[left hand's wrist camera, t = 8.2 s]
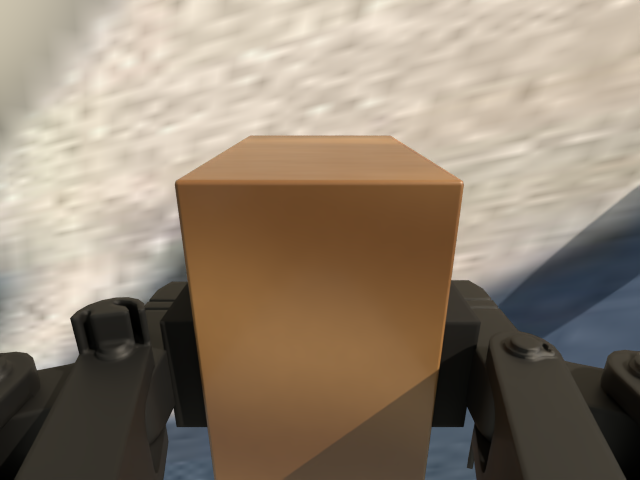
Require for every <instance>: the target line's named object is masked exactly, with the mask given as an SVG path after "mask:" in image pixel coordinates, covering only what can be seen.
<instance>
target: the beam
mask: <svg viewBox="0 0 640 480" xmlns="http://www.w3.org/2000/svg"><path fill="white" fill-rule="evenodd" d="M463 187H464V184H463V181H462V180H460V179H459V178H457V177H455V176H454V175H452V174H451V173H449V172H447V171H446V170H444V169H443V168H441V167H439V166H438V165H436V164H435V163H433V162H431V161H430V160H428V159H427V158H425V157H424V156H422V155H420V154H419V153H417V152H416V151H414V150H412V149H411V148H409V147H408V146H406V145H404V144H403V143H401V142H400V141H398V140H396V139H395V138H393V137H392V136H249V137H247V138H246V139H244V140H242V141H241V142H239V143H237V144H236V145H234V146H232V147H231V148H229V149H227V150H226V151H224V152H223V153H221V154H219V155H218V156H216V157H214V158H213V159H211V160H209V161H208V162H206V163H205V164H203V165H201V166H200V167H198V168H196V169H195V170H193V171H191V172H190V173H188V174H186V175H185V176H183V177H182V178H180V179H178V180H177V181H176V182H175V189H176V197H177V204H178V212H179V219H180V227H181V234H182V241H183V249H184V256H185V264H186V271H187V279H188V286H189V293H190V301H191V308H192V316H193V323H194V331H195V338H196V345H197V353H198V360H199V368H200V375H201V383H202V390H203V397H204V405H205V412H206V420H207V427H208V435H209V442H210V449H211V457H212V464H213V472H214V479H215V480H425V472H426V465H427V457H428V450H429V442H430V434H431V427H432V419H433V412H434V404H435V397H436V389H437V382H438V374H439V367H440V359H441V352H442V344H443V337H444V329H445V322H446V314H447V307H448V299H449V292H450V284H451V277H452V269H453V262H454V254H455V247H456V239H457V232H458V224H459V217H460V209H461V202H462V194H463Z"/></svg>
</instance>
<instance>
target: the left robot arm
mask: <svg viewBox="0 0 640 480" xmlns="http://www.w3.org/2000/svg"><path fill="white" fill-rule="evenodd" d="M70 319H71V323H72V327H73V331H74V335H75V339H76V343H77V347H78V351H79V356H78V358H77V360H76V362H75V363H72V364H68V365H63V366H58V367H53V368H48V369H42V370H37V369H36V366H35V363H34V360H33V357H31V356H30V355H29V354H27V353H21V352H10V353H0V480H163V478H164V471H165V463H166V456H167V448H168V435H167V429H166V423H167V421H168V419H169V416H170V414H171V412H172V410H173V408H174V413H175V419H176V425H177V427H207V420H206V412H205V405H204V397H203V390H202V383H201V375H200V368H199V360H198V353H197V345H196V338H195V331H194V323H193V316H192V308H191V301H190V293H189V286H188V282H171V283H169V284H167V285H165V286H164V287H162V288H160V289H159V290H157V292H156V293H155V294H154V295H153V296H152V298H151V299H150V301H149V302H147V304H146V305H145V306H144V303H143V302H141V301H140V300H139V299H134V298H129V297H122V298H111V299H106V300H101V301H99V302H96V303H93V304H90V305H88V306H86V307H84V308H82V309H80V310H79V311H77V312H76V313H75V314H74V315H73V316H72V317H71V318H70ZM467 407H468V409H469V412H470V414H471V416H472V418H473V420H474V422H475V424H474V429H473V435H472V441H471V446H470V452H469V457H468V464H467V468H470V469H472V468H473V463H474V462H475V470H476V477H477V480H640V351H630V350H621V351H614V352H613V353H611V354H610V355H609V356H608V358H607V361H606V364H605V367H604V369H602V368H597V367H592V366H586V365H581V364H576V363H571V362H567V361H564V359H563V358H562V356H561V354H560V353H559V351H558V350H557V349H556V348H555V347H554V346H553V345H552V344H550V343H549V342H547V341H545V340H544V339H542V338H539V337H537V336H535V335H532V334H529V333H524V332H520V331H518V330H517V329H516V327H515V326H514V325H513V324H512V323H511V322H510V320H509V319H508V318H507V317H506V316H505V314H504V313H503V312H502V311H501V310H500V309H498V306H497V305H496V304H495V303H494V301H493V300H491V298H490V297H489V295H488V294H487V293H486V292H485V291H484V289H482V288H481V287H479V286H477V285H476V284H474V283H472V282H471V281H469V280H451V284H450V292H449V299H448V307H447V314H446V322H445V329H444V337H443V344H442V352H441V359H440V367H439V374H438V382H437V389H436V397H435V404H434V412H433V419H432V427H464V421H465V415H466V409H467Z"/></svg>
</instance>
